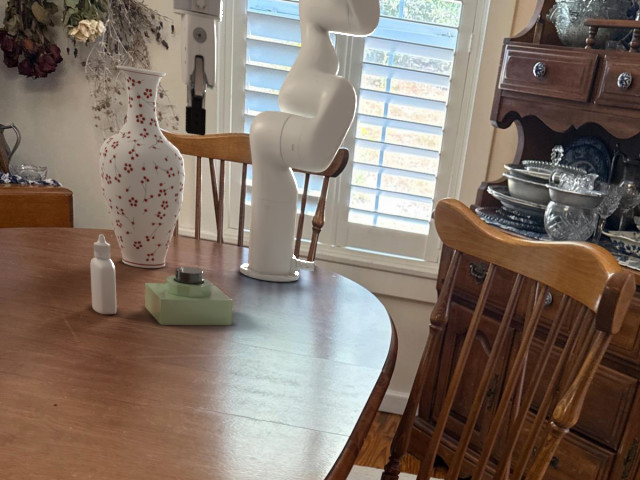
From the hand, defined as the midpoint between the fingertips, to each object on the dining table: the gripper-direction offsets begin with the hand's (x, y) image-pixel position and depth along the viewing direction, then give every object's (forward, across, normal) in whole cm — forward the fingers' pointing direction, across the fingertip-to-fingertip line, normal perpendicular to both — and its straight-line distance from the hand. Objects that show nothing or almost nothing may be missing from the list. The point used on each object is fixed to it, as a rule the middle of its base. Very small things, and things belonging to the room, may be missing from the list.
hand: (195, 133), depth 133 cm
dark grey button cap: (+22, -16, +2) cm, 27 cm away
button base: (+27, -16, +2) cm, 32 cm away
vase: (+27, +21, +8) cm, 35 cm away
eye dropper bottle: (+27, -16, +16) cm, 35 cm away
